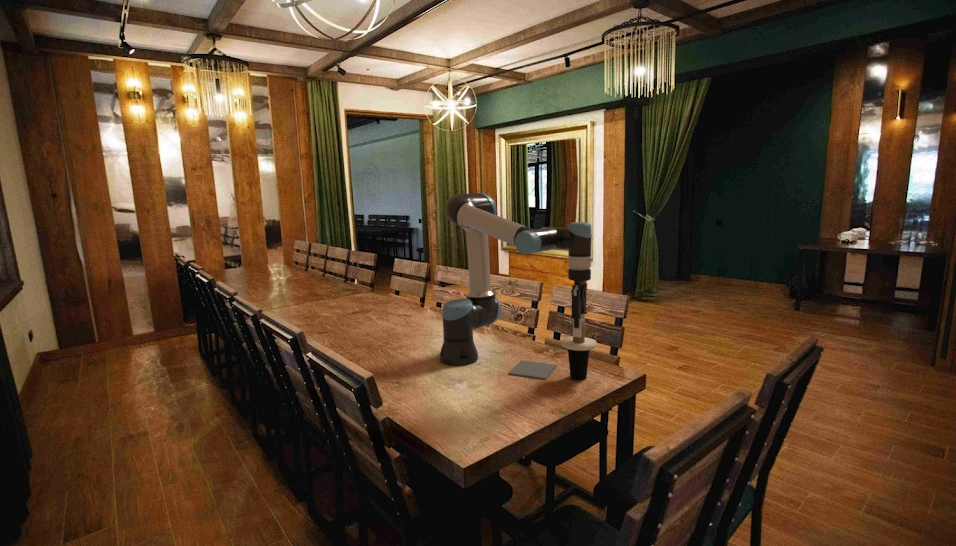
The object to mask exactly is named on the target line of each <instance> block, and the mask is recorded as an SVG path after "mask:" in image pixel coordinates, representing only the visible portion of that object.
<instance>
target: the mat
mask: <svg viewBox="0 0 956 546" xmlns="http://www.w3.org/2000/svg"><path fill="white" fill-rule="evenodd" d="M556 367H558V365H557V364H554V363H545V362H538V361H531V360H524V359H523V360H522V359H521V360H520V361H519V362H518V363H517V364H516V365H515V366H514V367H513V368H511V369H510V371H509V372H508V373H507V374H508V375H511V376H519V377H525V378H531V379H538V380H539V379H540V380H548V378H549V377H550V375H551V374H552V373H553V372H554V370H555V369H556Z"/></svg>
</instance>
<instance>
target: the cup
mask: <svg viewBox="0 0 956 546" xmlns="http://www.w3.org/2000/svg"><path fill="white" fill-rule="evenodd" d="M590 351H591V350H585V351H577V350H570V349H567V352H568V353H567V354H568V363H569V364H568V366H569V375H570V376H569V378H570V379H571V380H573V381H577V382H578V381H579V382H580V381H585V380H587V377H588V376H587V375H588V368H589V359H590Z"/></svg>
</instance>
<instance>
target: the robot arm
mask: <svg viewBox="0 0 956 546" xmlns="http://www.w3.org/2000/svg"><path fill="white" fill-rule="evenodd" d="M444 213H445V214H444V215H445V216H446V219H447V220H448V221H449V222H450V223H451V224H454V225H456V226H457V227H461V228H462V229H463V230H464V231H465V232H466V243H467V244H466V245H467V246H466V247H467V262H468V263H467V264H468V281H469V284H468V285H469V291H468V292H467V293H466V298H465V297H464V298H457V299H456V298H454V299H450V300H449V301H446V302H445V303H444V304H443V305H442V314H441V317H442V332H443V333H442V334H443V342H442V346H441V349H440V351H439V352H440V353H439V362H441V364H444V365H448V366H456V367H457V366H467V365H471V364H474V363H476V362H477V361H478V360H479V352H478V350H477V347H476V344H475V342H474V330H477V329H480V328H482V327H487V326H490V325H492V324H494V323H496V322H497V321H498V320H499V319H500V316H501V313H502V306H501V302H500V301H499V299H498V297H496V296H495V295H496V294H495V291H493V290H492V289H491V288H492V287H491V269H490V251H489V247H490V246H489V237H492V238H494V239H496V240H499V241H501V242H504V243H506V244H509V245H511V246H514V247H515V248H516V250H517V251H518V252H519V253H521V254H523V255H533V254H535V253H542V252H546V251H551V250H563V251H568V254H567V255H568V259H567V263H568V270H567V271H568V273H567V277H568V280H569V281H573V285H572V289H571V291H570V292H571V316H570V319H572V337H581V318H583V319H586V315H588V311H587V290H588V287H587V286H588V284H587V283H586V282H588V281H590V280H592V279H591V278H592V276H591V275H592V270H591V267H592V262H593V261H594V260H593V258H592V237H593V235H592V224H591V223H590V222H588V221H587V222H584V221H578V222H577V221H574V222H570V223H568V227H553V226H546V227H545V226H544V227H541V228H539V229H534V228H530V227H528V226H526V225H523V224H520V223H518V222H516V221H513V220H510V219H507V218H504V217H502V216H499V215H497V205H496V202H495V201H494V199H493V198H492V197H491V195H489V194H486V193H479V192H477V193H476V192H475V193H457V194H454V195H452V196H451V197H449V199H447V201H446V203H445V206H444Z"/></svg>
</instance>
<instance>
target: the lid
mask: <svg viewBox="0 0 956 546" xmlns="http://www.w3.org/2000/svg"><path fill="white" fill-rule="evenodd" d="M585 319H586V318H585ZM585 319H583V318H581V337H573V336H569V337H565V338H562V339H561V341H560V342H561V343H560V346H561V347H562V348H564V349H567V350H568V349H570V350H577V351H585V350H590V351H591V350H594V349H596V348H597V344H598V343H597V341H596V340H595V339H593V338H590V337H586V333H585V332H586V320H585Z"/></svg>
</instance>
